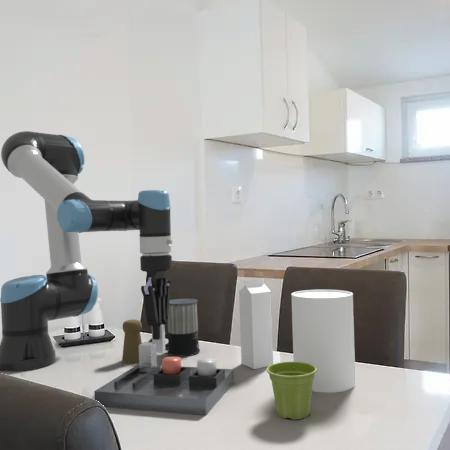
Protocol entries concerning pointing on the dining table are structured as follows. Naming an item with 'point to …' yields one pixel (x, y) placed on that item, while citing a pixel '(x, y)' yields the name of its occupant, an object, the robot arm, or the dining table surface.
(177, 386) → the panel
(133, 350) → the cork
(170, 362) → the button
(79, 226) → the robot arm
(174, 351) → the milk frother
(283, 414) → the plant pot
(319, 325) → the canister
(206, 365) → the grey button
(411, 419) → the dining table surface
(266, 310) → the milk
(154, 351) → the toggle
